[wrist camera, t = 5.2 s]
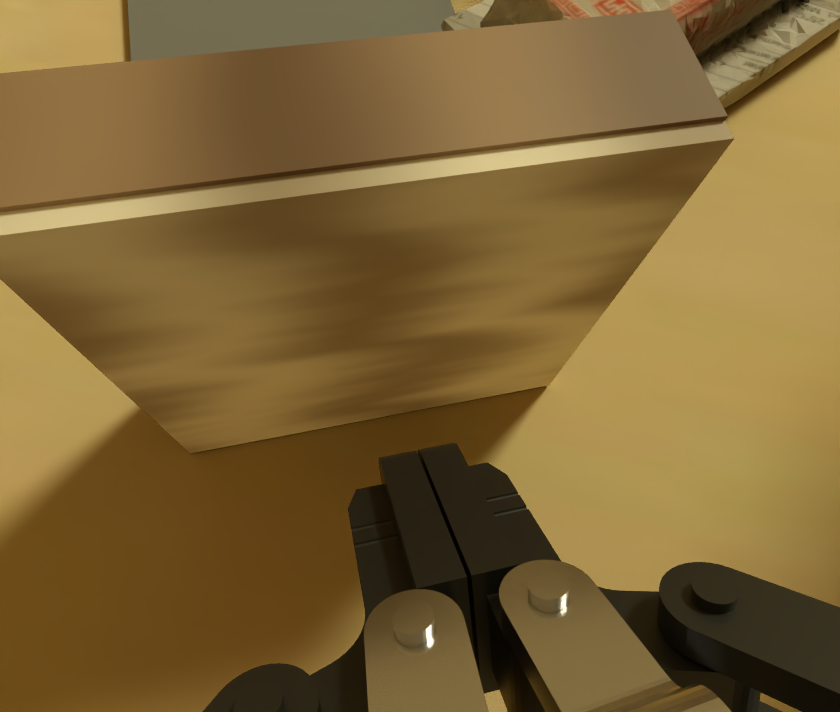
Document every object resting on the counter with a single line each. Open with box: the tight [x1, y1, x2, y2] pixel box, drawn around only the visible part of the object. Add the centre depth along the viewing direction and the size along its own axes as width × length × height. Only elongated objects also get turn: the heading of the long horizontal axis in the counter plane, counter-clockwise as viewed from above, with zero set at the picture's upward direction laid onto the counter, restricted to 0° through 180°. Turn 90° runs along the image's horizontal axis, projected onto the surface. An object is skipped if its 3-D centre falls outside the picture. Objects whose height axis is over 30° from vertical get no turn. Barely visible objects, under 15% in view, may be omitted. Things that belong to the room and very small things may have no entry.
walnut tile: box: [0, 10, 734, 453], centre depth 15 cm, size 12×3×12 cm, turn 103°
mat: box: [128, 0, 455, 61], centre depth 25 cm, size 14×18×1 cm
